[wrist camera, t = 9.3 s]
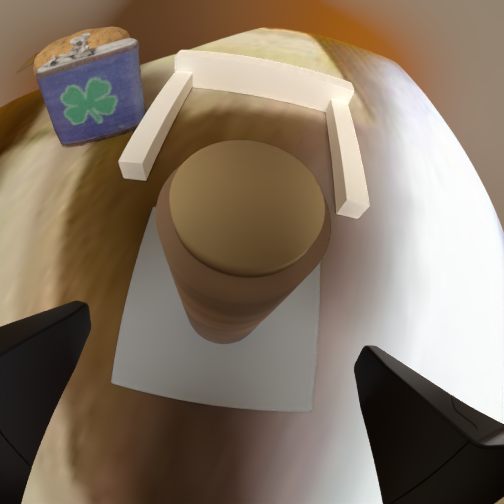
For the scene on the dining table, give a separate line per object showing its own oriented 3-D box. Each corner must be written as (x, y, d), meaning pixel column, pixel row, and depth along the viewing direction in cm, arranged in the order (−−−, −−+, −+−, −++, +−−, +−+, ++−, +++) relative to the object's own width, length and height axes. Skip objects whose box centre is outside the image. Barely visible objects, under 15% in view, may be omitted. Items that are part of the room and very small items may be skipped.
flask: (147, 113, 23) (138, 16, 13) (147, 131, 22) (135, 25, 12) (63, 134, 20) (34, 49, 11) (58, 153, 19) (21, 63, 10)
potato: (65, 73, 25) (55, 31, 18) (145, 65, 27) (143, 14, 20) (27, 113, 21) (9, 66, 14) (111, 106, 23) (100, 43, 15)
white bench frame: (357, 219, 21) (382, 190, 17) (123, 178, 19) (112, 142, 15) (339, 108, 28) (351, 82, 24) (180, 78, 26) (180, 49, 22)
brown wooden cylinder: (204, 355, 15) (192, 322, 5) (175, 288, 16) (134, 155, 6) (272, 325, 16) (372, 242, 6) (241, 262, 17) (283, 120, 7)
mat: (309, 410, 14) (311, 411, 14) (113, 382, 13) (111, 382, 13) (318, 237, 19) (320, 235, 19) (153, 209, 18) (153, 206, 18)
